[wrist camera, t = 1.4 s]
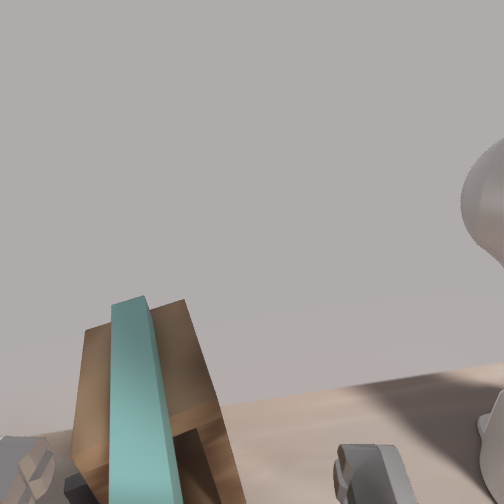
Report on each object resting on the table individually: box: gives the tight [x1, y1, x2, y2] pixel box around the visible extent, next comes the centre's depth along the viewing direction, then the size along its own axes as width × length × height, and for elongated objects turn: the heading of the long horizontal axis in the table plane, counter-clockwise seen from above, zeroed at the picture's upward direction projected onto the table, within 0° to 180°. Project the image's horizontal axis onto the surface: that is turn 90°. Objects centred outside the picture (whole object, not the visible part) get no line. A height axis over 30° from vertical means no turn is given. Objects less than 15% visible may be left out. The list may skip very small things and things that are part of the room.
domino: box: [64, 473, 99, 504], centre depth 41 cm, size 2×5×10 cm, turn 110°
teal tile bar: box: [109, 296, 183, 504], centre depth 25 cm, size 3×21×3 cm, turn 20°
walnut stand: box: [70, 299, 246, 504], centre depth 36 cm, size 10×14×26 cm
